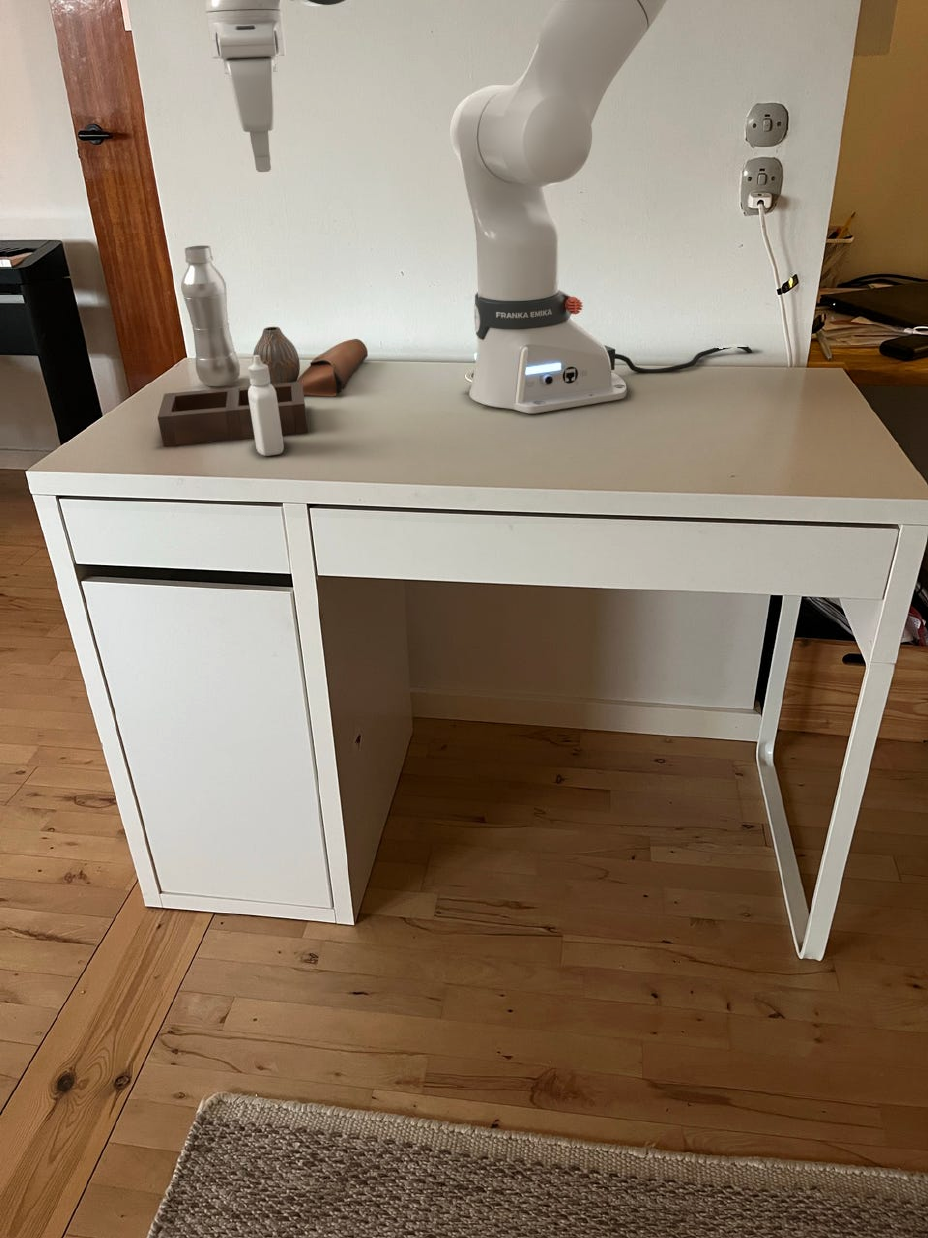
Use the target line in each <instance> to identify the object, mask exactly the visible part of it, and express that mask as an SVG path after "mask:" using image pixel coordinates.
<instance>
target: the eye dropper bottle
mask: <svg viewBox="0 0 928 1238" xmlns="http://www.w3.org/2000/svg"><path fill="white" fill-rule="evenodd" d="M247 369H248V376H249V377H248V378H249V382H250V385H249V386H250V387H249V390H248V398H249V404H250V411H251V417H252V424H253V430H254V437H255V438H254V443H255V449H256V451H257V453H258V454H260V455H261V456H263V457H271V456H277V455H281V454H282V453H283V452H284V448H285V446H284V440H283V439H284V438H283V435H282V430H281V423H280V416H279V409H278V402H277V395H276V391H275V388H274V387H273V386H272V385H271V384H270V376H269V369H268V366H267V365H265V364H263V363H262V362H261V359H260V356H259V355H254V358H253V357H252V364H251V365H250V366H248V368H247Z"/></svg>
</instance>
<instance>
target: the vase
mask: <svg viewBox="0 0 928 1238" xmlns="http://www.w3.org/2000/svg"><path fill="white" fill-rule="evenodd" d="M254 355H259V356H260V359H261V362H262V363H263V364H265V365H267V366H268V369H269V376H270V384H280V383H292V382H296V381H297V380H298V379H299V377H300V372H301V363H300V362H301V361H300V357H299V353H298V351H297V349H296V347H295V345H294V344H293V343H292V342H291V340H290V339H289V338H288V337H287V336H286V335H285V334H284V332H283V331H282V330H281V328H280V327H279V326H267V327H264V328H263V329H262V333H261V336H260V338H259V340H258V342H257V343H256V345H255V347H254V350H253V354H252V359H253V358H254Z"/></svg>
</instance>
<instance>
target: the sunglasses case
mask: <svg viewBox="0 0 928 1238" xmlns="http://www.w3.org/2000/svg"><path fill="white" fill-rule="evenodd" d="M368 354H369V353H368V349H367V346H366V345H365V343H364V341H362V340H361V339H358V338H352V339H347V340H345V341H342V342H340V343H337V344H335V345H334V346H332V347H331V348H329V349H328V350H326V351H324V352H323V353H321V354H319V355H318V356H316V357H315V358H314V359H312V361H311V362H309V363H310V365H309V367H308V368H306V369H305V371H303V372H302V374H301V375H299V376H298V379H297V381H296V382H302V386H303V394H304V396H308V397H327V398H329V397H332V398H333V397H337V396H339V395H341V393H342V392H343V391H344V390H345V389H346V387H347V386H348V383H349V382H350V380H351V379H352V378H353V375H354V374H355V373H356V372H357V370H358V369H359V367H360V366H361V365H362V364H363V362H365V360H367V358H368V356H369V355H368Z"/></svg>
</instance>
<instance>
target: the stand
mask: <svg viewBox="0 0 928 1238" xmlns="http://www.w3.org/2000/svg"><path fill="white" fill-rule="evenodd" d="M271 385H272V386H273V387H274V388H275V391H276V395H277V402H278V409H279V416H280V423H281V430H282V436H288V435H300V434H308V433H309V429H308V421H307V420H308V418H307V412H306V403H305V395H304V394H303V386H302V382H292V383H280V384H271ZM250 386H251V385H248V386H236V387H235V386H234V387H224V388H223V387H222V388H213V389H202V390H201V389H200V390H190V391H179V392H177V391H176V392H167V393H166V392H165V393H164V395H163V397H162V401H161V404H160V408H159V411H158V414H157V417H156V418H157V422H158V427H159V433H160V437H161V441H162V446H163V447H173V446H174V447H175V446H183V445H195V444H204V443H205V444H206V443H215V442H216V443H217V442H226V441H236V440H237V441H238V440H247V439H255V437H254V430H253V424H252V417H251V411H250V404H249V398H248V390H249V387H250Z"/></svg>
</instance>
